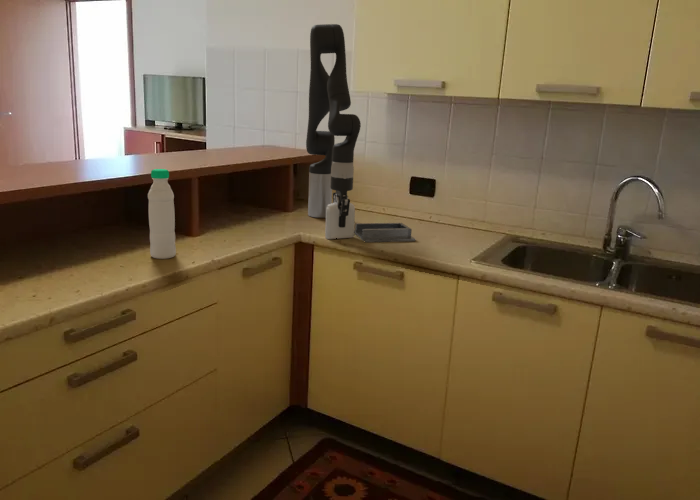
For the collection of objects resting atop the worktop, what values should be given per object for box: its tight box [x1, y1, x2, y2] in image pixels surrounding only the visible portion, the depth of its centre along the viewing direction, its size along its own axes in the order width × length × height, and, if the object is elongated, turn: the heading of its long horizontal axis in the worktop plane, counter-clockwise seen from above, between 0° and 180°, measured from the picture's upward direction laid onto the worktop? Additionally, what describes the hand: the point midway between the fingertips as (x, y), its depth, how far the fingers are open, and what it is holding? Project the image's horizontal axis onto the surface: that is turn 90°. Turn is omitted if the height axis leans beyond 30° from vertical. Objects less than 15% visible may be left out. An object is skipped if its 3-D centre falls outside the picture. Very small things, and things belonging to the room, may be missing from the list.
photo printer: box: [324, 202, 356, 240], centre depth 198 cm, size 10×4×12 cm, turn 114°
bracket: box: [354, 222, 416, 243], centre depth 203 cm, size 14×18×4 cm
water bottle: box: [147, 168, 177, 260], centre depth 165 cm, size 7×7×25 cm
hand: (339, 225), depth 198 cm, fingers closed on photo printer, 4 cm apart
